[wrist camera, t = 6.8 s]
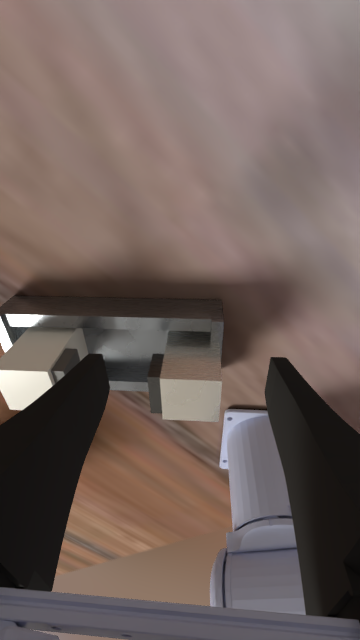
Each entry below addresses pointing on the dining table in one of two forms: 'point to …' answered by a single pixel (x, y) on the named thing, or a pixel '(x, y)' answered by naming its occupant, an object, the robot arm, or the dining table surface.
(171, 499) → the dining table surface
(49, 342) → the cream rectangular block
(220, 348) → the rail
